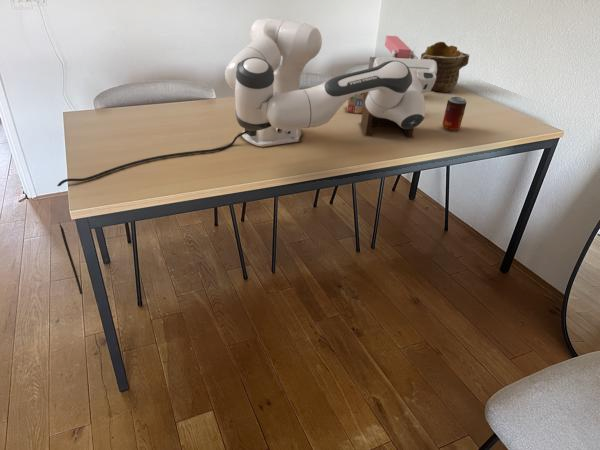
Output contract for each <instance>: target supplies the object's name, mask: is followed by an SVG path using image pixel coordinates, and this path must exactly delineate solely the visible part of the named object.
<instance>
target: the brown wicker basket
mask: <svg viewBox="0 0 600 450" xmlns="http://www.w3.org/2000/svg"><path fill="white" fill-rule="evenodd" d="M420 59H426V60H434V61H435V62H436V63H437V73H436V80H435V83H434V85H433V87H432V89H431V91H434V92H440V93H449V92H451V91H453V90H454V89H455V88H456V86H457V85H458V81H459V78H460V70H461V69H462V68H464V67H466V66H467V65H468V64H469V59H470V53H464V52H463V51H461V50H460V49H459V50H458V47H457V46H455V45H448V44H446V42H445V41H437V42H435V43H434V44H431V45H429V46H427V47H426V49H425V51H424V52H422V53H421V55H420Z"/></svg>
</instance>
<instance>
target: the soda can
mask: <svg viewBox="0 0 600 450" xmlns="http://www.w3.org/2000/svg"><path fill="white" fill-rule="evenodd" d="M467 103H468V101H467V100H466V98H463V97H460V96H451V97H449V98H448V99H447V103H446V107H445V111H444V115H443V120H442V129H443V130H445V131H448V132H457V131H458V130H459V128H461V126H462V122H463V117H464V115H465V111H466V107H467Z"/></svg>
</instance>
